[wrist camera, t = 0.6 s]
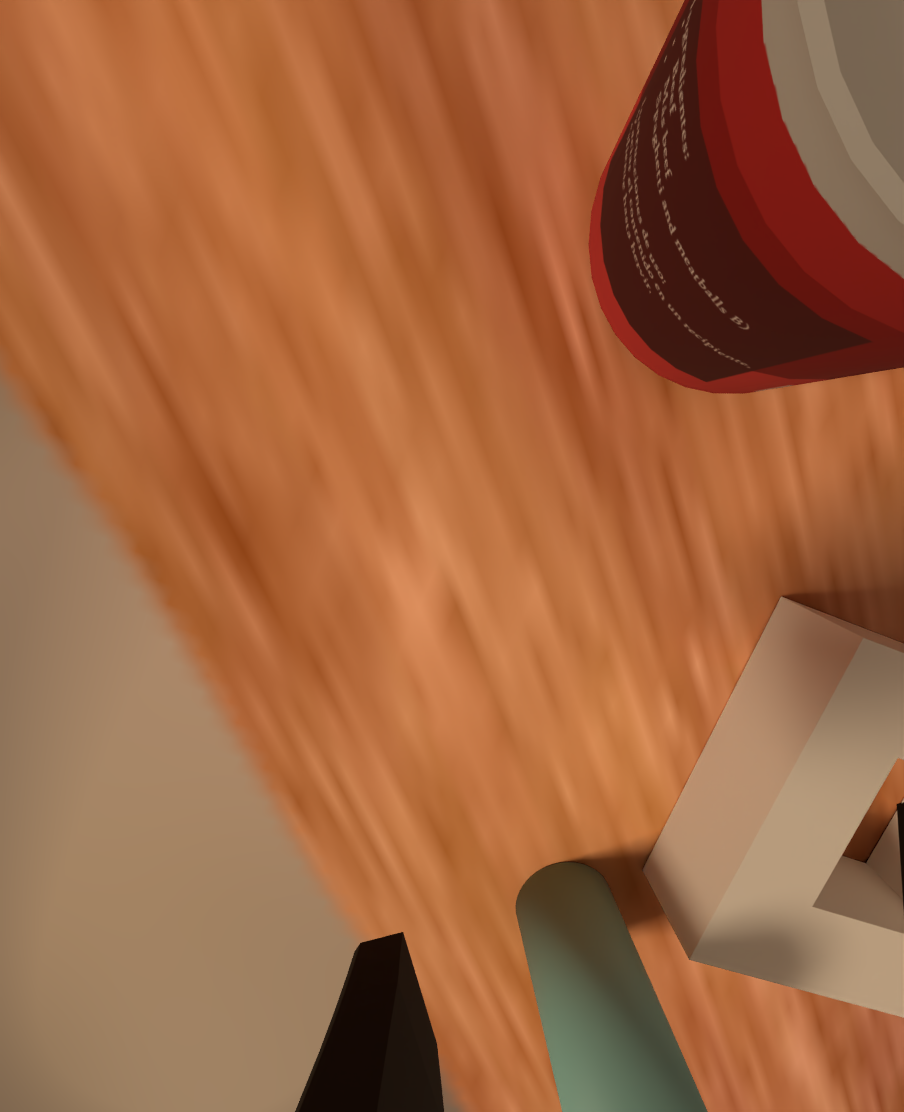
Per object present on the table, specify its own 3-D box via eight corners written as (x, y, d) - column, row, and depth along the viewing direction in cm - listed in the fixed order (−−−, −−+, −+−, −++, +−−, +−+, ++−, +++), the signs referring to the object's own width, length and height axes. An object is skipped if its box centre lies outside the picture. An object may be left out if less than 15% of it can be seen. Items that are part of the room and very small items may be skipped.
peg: (626, 876, 21) (759, 1150, 13) (587, 954, 22) (692, 1259, 14) (538, 850, 21) (623, 1120, 13) (500, 930, 21) (561, 1235, 13)
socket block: (1041, 696, 21) (1167, 753, 17) (891, 942, 23) (978, 1037, 19) (781, 596, 19) (863, 637, 16) (642, 870, 21) (689, 959, 18)
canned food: (953, 153, 16) (1987, -465, 5) (784, 448, 17) (1313, 460, 6) (680, 7, 15) (1163, -1002, 5) (530, 320, 17) (634, 103, 6)
